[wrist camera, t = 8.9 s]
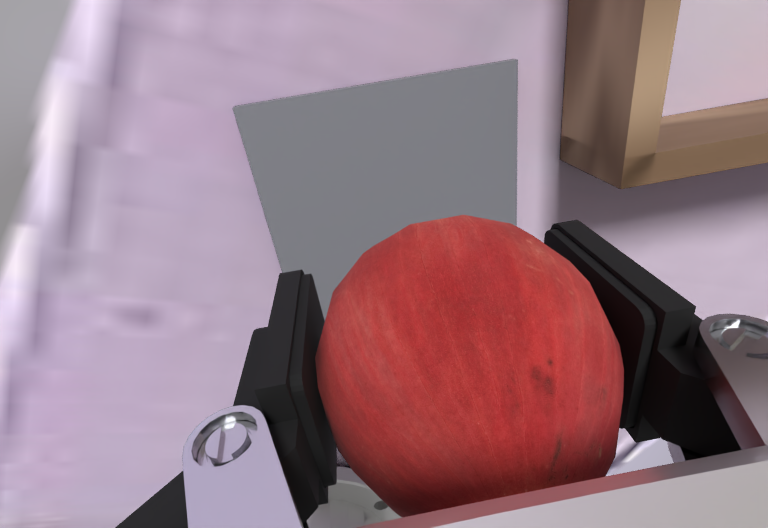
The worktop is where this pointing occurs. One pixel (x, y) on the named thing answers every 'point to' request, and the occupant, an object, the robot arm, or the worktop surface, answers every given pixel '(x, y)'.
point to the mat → (381, 162)
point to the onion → (468, 367)
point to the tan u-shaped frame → (643, 101)
